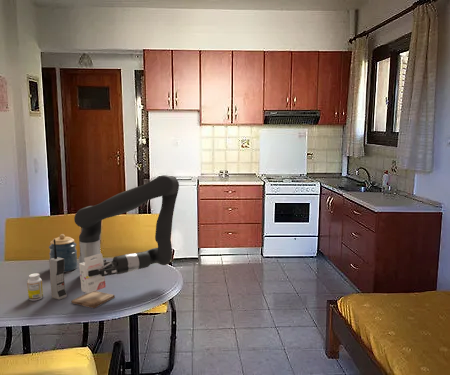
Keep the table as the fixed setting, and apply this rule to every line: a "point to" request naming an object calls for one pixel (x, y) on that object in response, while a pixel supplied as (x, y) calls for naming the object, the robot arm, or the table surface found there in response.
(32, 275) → the supplement bottle
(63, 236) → the canister
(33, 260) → the table surface
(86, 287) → the ink cartridge box
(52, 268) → the vintage mobile phone
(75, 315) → the table surface
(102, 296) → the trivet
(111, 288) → the table surface
